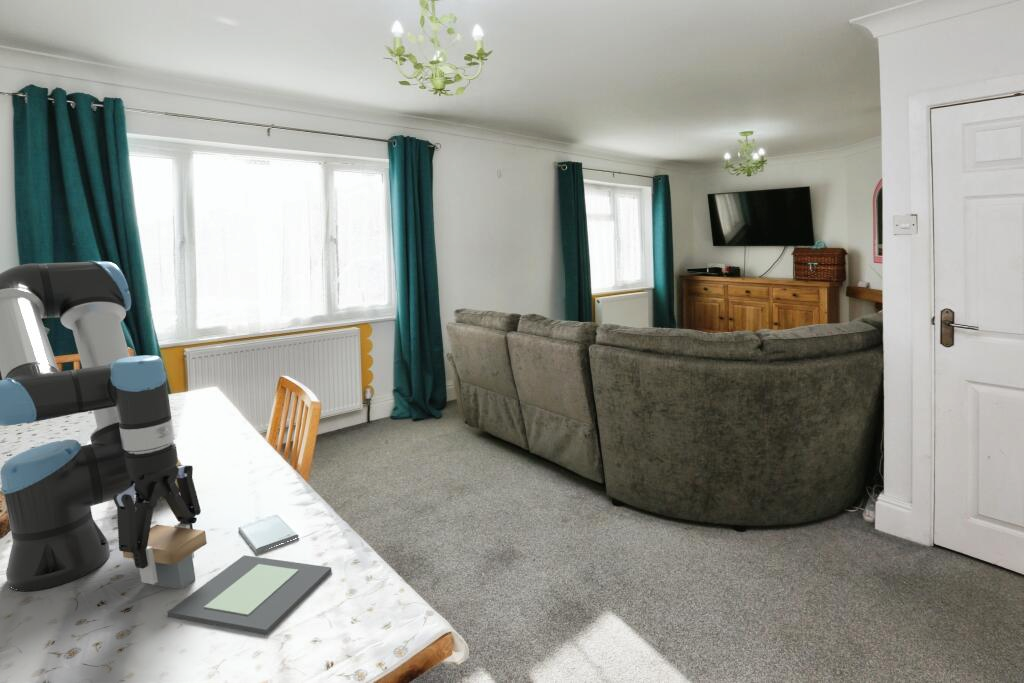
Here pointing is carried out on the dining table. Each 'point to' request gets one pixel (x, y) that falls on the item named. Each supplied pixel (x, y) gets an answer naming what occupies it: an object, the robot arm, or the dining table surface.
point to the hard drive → (267, 533)
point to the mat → (251, 594)
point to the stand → (175, 573)
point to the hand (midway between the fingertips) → (168, 569)
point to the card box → (173, 543)
